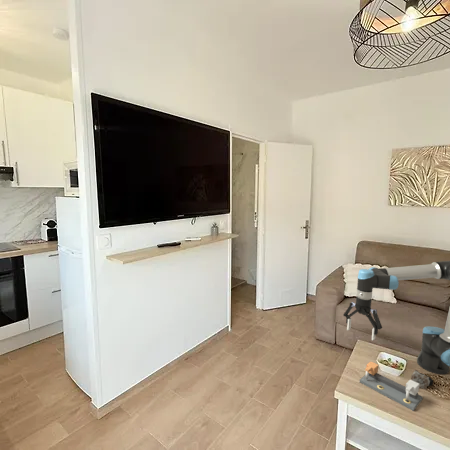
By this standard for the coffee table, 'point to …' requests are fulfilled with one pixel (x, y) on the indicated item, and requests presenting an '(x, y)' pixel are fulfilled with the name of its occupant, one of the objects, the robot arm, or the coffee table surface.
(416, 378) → the grey rock
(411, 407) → the plate
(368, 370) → the sliding leg
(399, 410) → the coffee table surface
